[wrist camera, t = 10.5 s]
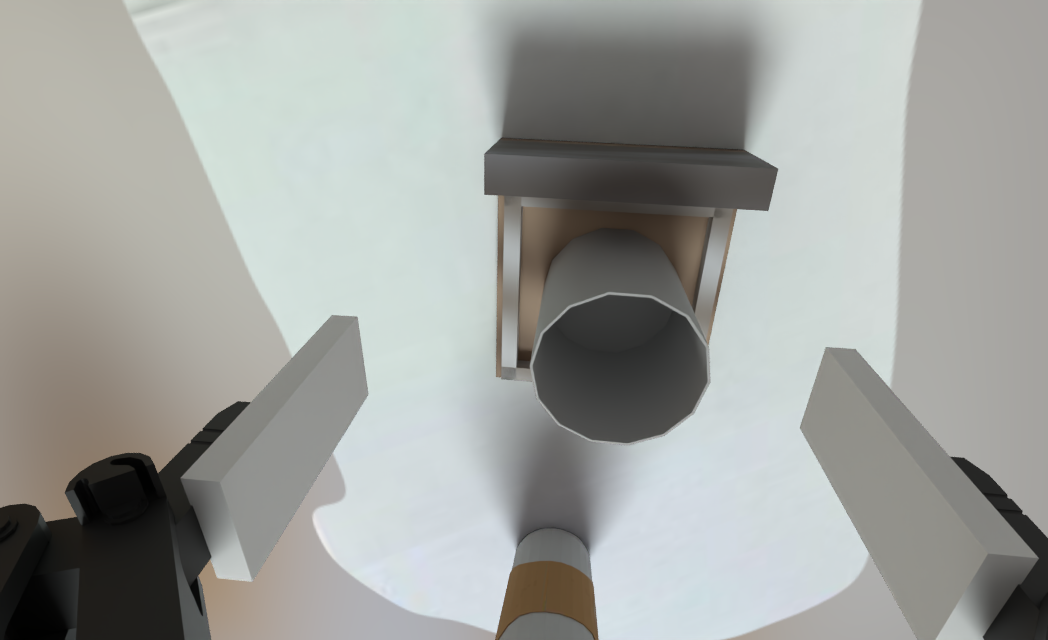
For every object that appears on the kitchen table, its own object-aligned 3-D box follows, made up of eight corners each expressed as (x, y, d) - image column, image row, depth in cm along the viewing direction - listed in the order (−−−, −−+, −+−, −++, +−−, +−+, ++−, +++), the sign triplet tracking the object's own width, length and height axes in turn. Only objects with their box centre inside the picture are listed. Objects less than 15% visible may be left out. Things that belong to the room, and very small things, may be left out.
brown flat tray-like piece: (501, 137, 32) (484, 153, 26) (744, 149, 31) (778, 168, 25) (498, 369, 39) (484, 419, 33) (695, 385, 38) (713, 440, 32)
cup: (688, 233, 32) (729, 301, 23) (666, 353, 36) (694, 451, 27) (547, 223, 33) (534, 285, 24) (540, 342, 36) (525, 435, 27)
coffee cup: (586, 594, 48) (587, 801, 35) (496, 572, 48) (462, 771, 35) (613, 530, 44) (626, 734, 31) (516, 506, 44) (486, 700, 31)
